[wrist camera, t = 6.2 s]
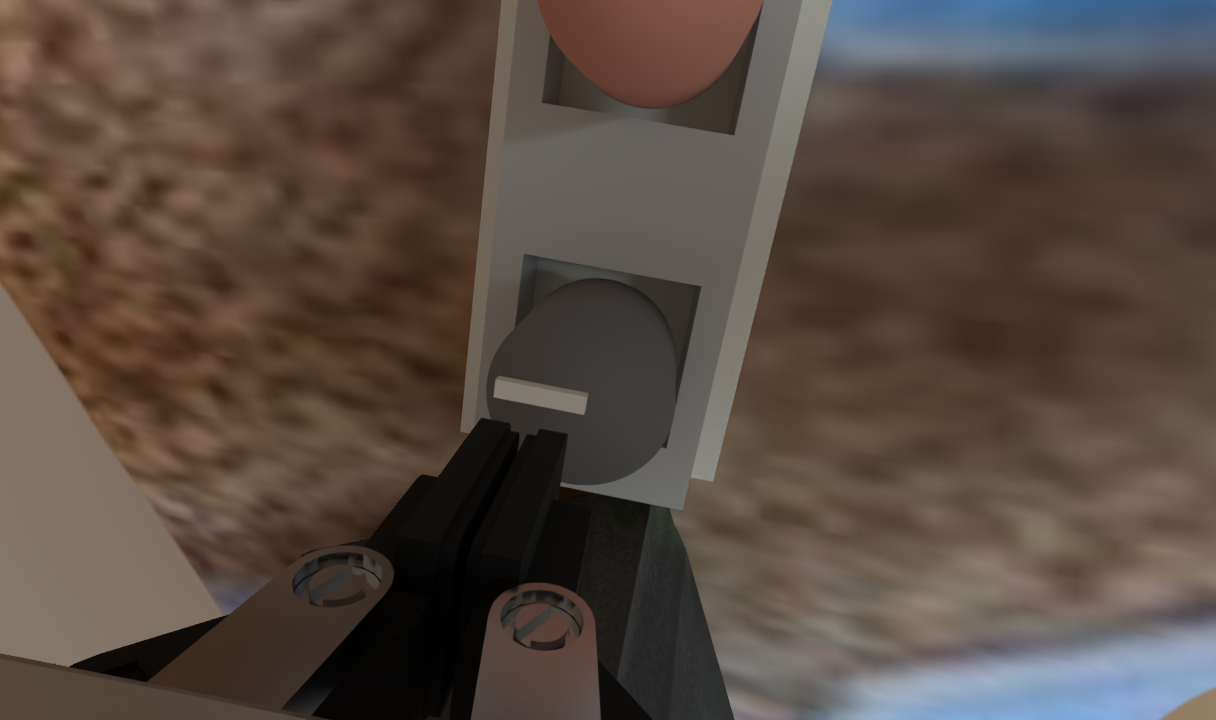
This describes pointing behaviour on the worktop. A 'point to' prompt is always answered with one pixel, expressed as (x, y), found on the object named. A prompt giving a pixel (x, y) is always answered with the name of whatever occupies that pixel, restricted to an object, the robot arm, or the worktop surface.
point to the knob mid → (650, 44)
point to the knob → (589, 378)
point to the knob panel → (642, 212)
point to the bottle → (646, 612)
